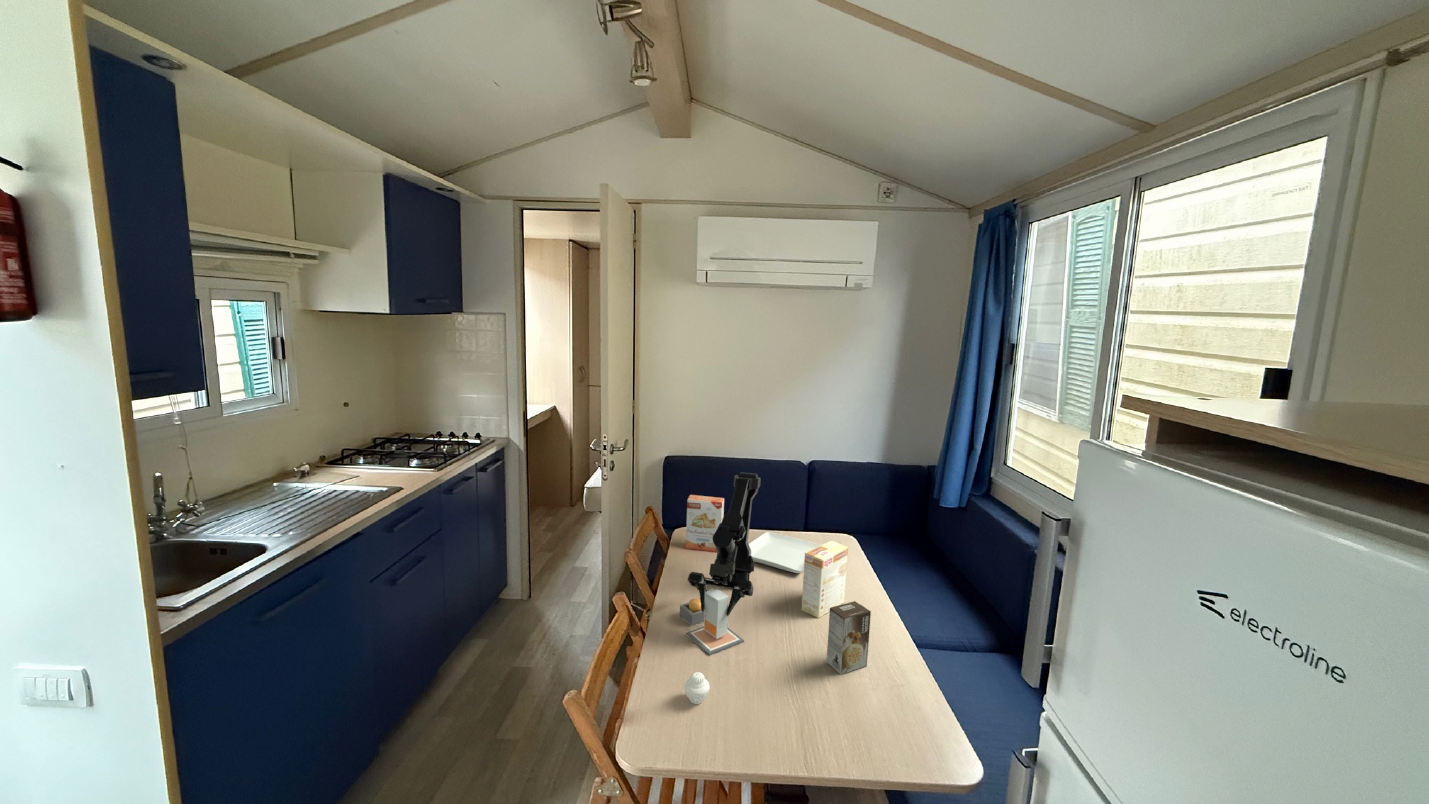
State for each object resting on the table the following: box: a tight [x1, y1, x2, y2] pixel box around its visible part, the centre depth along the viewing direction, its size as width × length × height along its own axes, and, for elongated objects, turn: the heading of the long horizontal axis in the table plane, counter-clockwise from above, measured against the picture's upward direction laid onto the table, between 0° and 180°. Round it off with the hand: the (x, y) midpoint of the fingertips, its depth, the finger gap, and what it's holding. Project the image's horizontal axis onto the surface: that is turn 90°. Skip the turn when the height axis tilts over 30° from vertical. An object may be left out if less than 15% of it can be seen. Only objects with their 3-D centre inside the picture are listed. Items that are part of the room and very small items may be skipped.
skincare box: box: [703, 587, 730, 639], centre depth 160 cm, size 6×4×12 cm
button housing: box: [679, 601, 704, 627], centre depth 171 cm, size 7×7×4 cm
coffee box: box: [826, 600, 872, 675], centre depth 150 cm, size 9×6×16 cm
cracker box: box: [685, 494, 725, 553], centre depth 220 cm, size 14×6×21 cm, turn 80°
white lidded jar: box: [683, 671, 710, 705], centre depth 134 cm, size 6×6×7 cm
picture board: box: [685, 625, 745, 656], centre depth 161 cm, size 12×12×1 cm
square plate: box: [748, 531, 822, 574], centre depth 217 cm, size 27×27×4 cm
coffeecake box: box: [801, 540, 849, 619], centre depth 179 cm, size 15×7×20 cm, turn 134°
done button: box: [688, 598, 701, 613], centre depth 171 cm, size 4×4×3 cm
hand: (714, 613), depth 158 cm, fingers closed on skincare box, 7 cm apart
